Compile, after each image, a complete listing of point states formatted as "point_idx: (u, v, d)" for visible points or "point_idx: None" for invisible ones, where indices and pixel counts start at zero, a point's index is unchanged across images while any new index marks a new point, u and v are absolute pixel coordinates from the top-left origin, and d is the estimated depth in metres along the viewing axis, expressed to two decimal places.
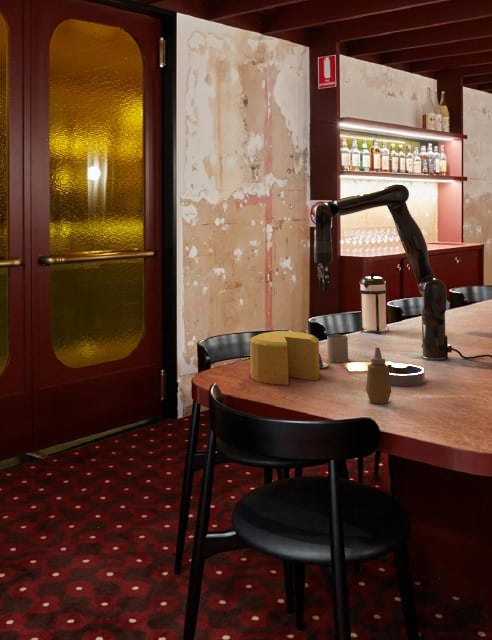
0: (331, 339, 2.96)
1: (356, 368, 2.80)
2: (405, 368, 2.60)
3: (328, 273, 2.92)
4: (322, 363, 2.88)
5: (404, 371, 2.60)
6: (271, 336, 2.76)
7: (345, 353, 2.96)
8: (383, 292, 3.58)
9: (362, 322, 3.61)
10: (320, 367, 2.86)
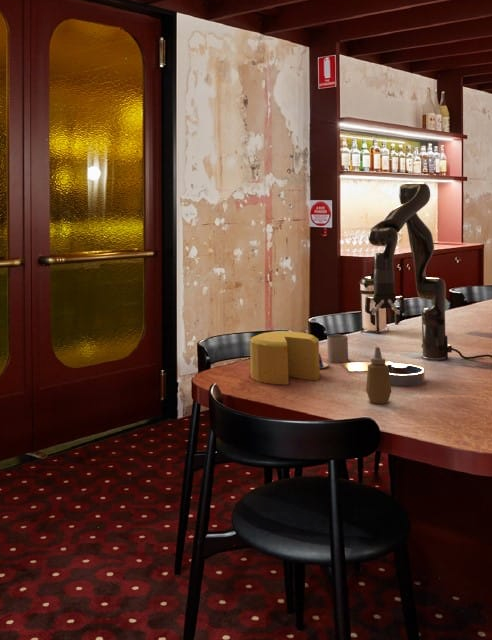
0: (331, 339, 2.96)
1: (356, 368, 2.80)
2: (405, 368, 2.60)
3: (366, 304, 2.67)
4: (322, 363, 2.88)
5: (404, 371, 2.60)
6: (271, 336, 2.76)
7: (345, 353, 2.96)
8: None
9: (362, 322, 3.61)
10: (320, 367, 2.86)
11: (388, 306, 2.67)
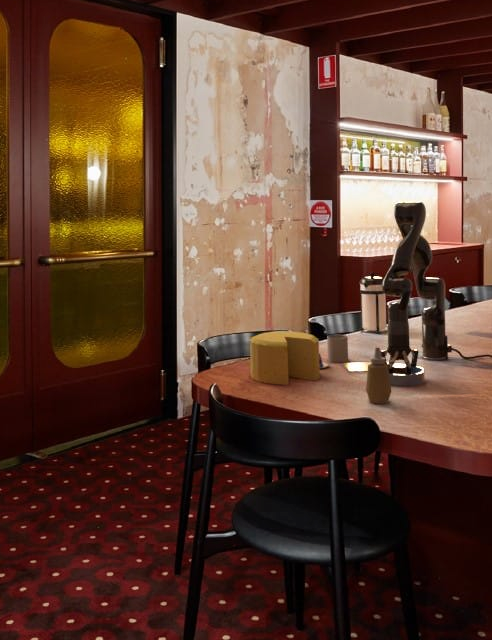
0: (331, 339, 2.96)
1: (356, 368, 2.80)
2: (405, 368, 2.60)
3: None
4: (322, 363, 2.88)
5: (404, 371, 2.60)
6: (271, 336, 2.76)
7: (345, 353, 2.96)
8: (383, 292, 3.58)
9: (362, 322, 3.61)
10: (320, 367, 2.86)
11: (403, 358, 2.61)
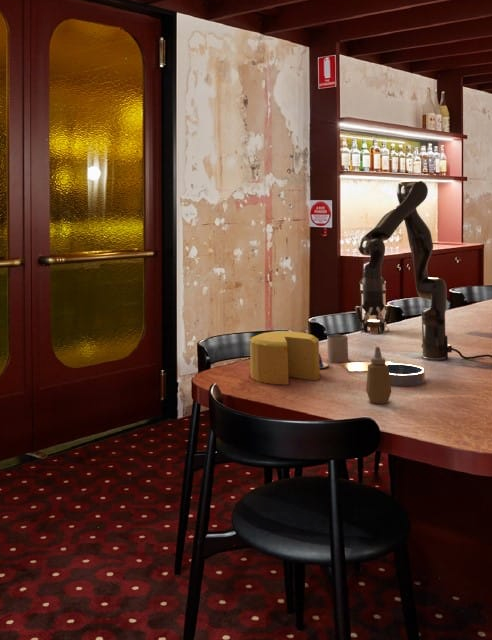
0: (331, 339, 2.96)
1: (356, 368, 2.80)
2: (379, 322, 2.79)
3: (357, 314, 2.80)
4: (322, 363, 2.88)
5: (378, 325, 2.78)
6: (271, 336, 2.76)
7: (345, 353, 2.96)
8: (383, 292, 3.58)
9: None
10: (320, 367, 2.86)
11: (376, 313, 2.80)
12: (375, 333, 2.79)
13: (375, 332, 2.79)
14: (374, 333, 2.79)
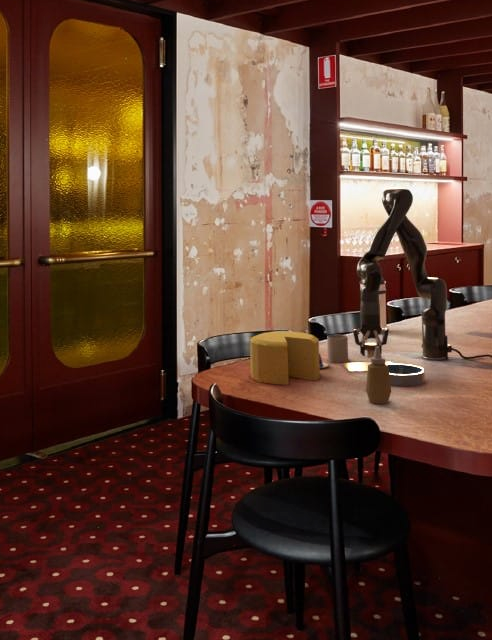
0: (331, 339, 2.96)
1: (356, 368, 2.80)
2: (376, 346, 2.81)
3: (355, 337, 2.82)
4: (322, 363, 2.88)
5: None
6: (271, 336, 2.76)
7: (345, 353, 2.96)
8: (383, 292, 3.58)
9: None
10: (320, 367, 2.86)
11: (374, 336, 2.82)
12: (372, 356, 2.82)
13: (372, 355, 2.82)
14: (371, 356, 2.82)
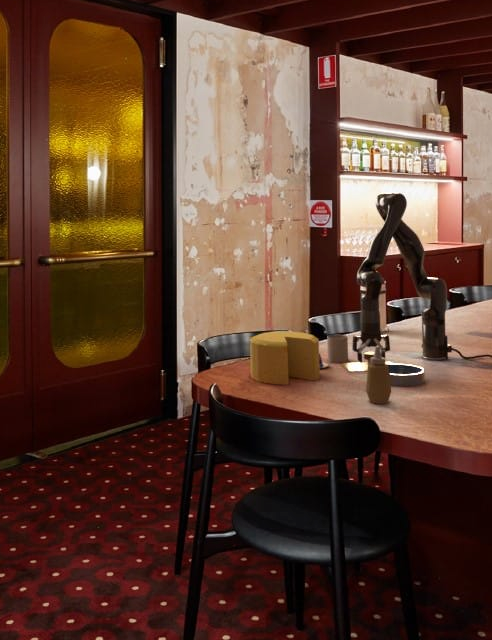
0: (331, 339, 2.96)
1: (356, 368, 2.80)
2: None
3: (353, 343, 2.82)
4: (322, 363, 2.88)
5: None
6: (271, 336, 2.76)
7: (345, 353, 2.96)
8: (383, 292, 3.58)
9: None
10: (320, 367, 2.86)
11: (374, 344, 2.82)
12: None
13: None
14: None
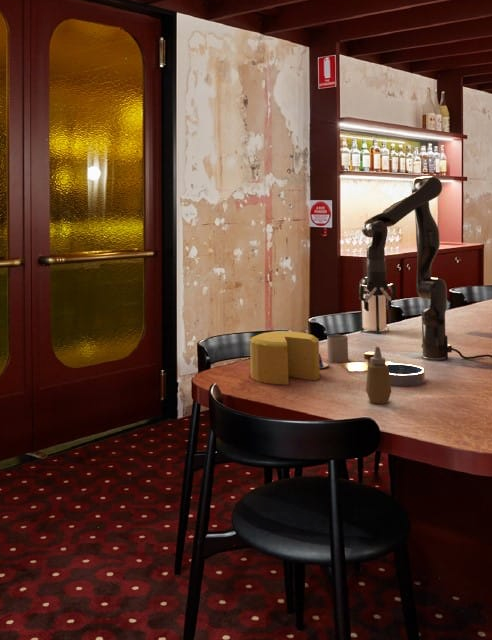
0: (331, 339, 2.96)
1: (356, 368, 2.80)
2: None
3: (360, 292, 2.87)
4: (322, 363, 2.88)
5: None
6: (271, 336, 2.76)
7: (345, 353, 2.96)
8: None
9: (362, 322, 3.61)
10: (320, 367, 2.86)
11: (380, 293, 2.87)
12: None
13: None
14: None
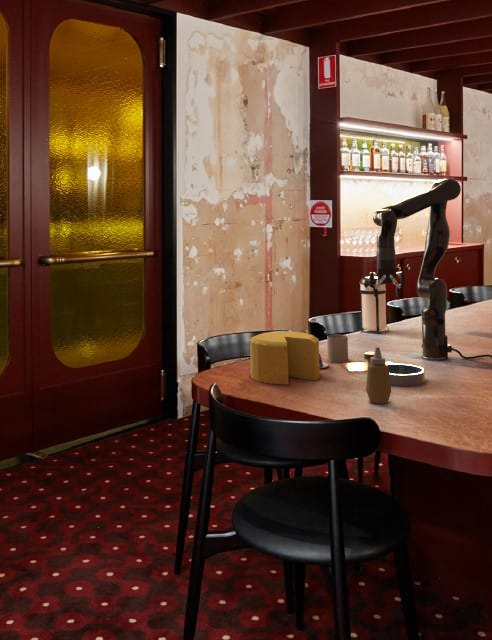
0: (331, 339, 2.96)
1: (356, 368, 2.80)
2: None
3: (370, 279, 2.94)
4: (322, 363, 2.88)
5: None
6: (271, 336, 2.76)
7: (345, 353, 2.96)
8: (383, 292, 3.58)
9: (362, 322, 3.61)
10: (320, 367, 2.86)
11: (390, 281, 2.94)
12: None
13: None
14: None
